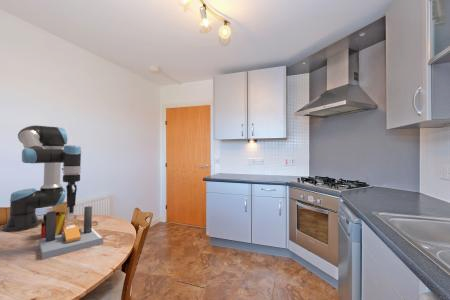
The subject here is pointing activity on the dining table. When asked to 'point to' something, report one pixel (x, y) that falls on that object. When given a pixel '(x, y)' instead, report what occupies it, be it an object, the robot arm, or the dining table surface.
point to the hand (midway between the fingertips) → (70, 218)
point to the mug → (58, 225)
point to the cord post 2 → (87, 219)
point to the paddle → (71, 233)
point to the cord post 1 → (50, 226)
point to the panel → (69, 244)
